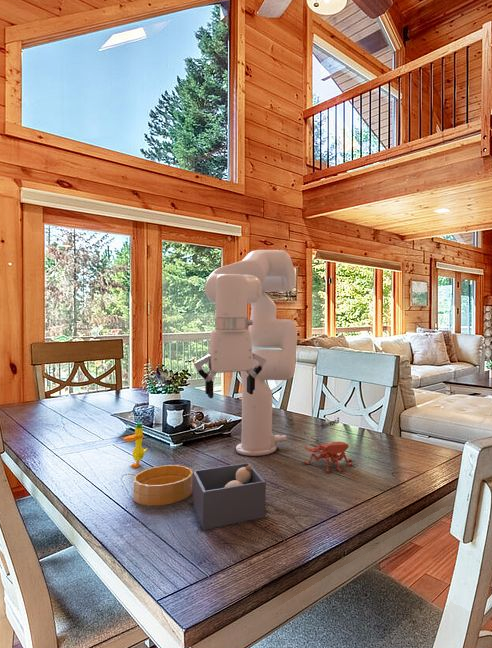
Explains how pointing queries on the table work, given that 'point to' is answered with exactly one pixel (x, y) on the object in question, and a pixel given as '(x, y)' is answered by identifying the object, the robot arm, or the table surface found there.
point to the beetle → (330, 450)
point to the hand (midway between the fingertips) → (230, 395)
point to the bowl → (162, 485)
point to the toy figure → (137, 444)
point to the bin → (227, 496)
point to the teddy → (241, 476)
